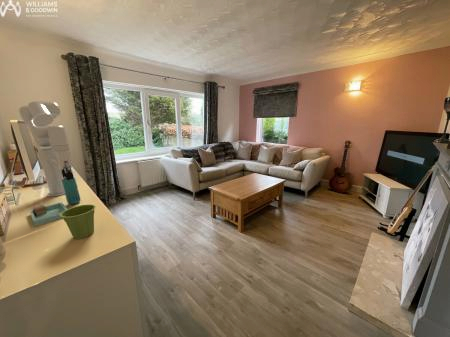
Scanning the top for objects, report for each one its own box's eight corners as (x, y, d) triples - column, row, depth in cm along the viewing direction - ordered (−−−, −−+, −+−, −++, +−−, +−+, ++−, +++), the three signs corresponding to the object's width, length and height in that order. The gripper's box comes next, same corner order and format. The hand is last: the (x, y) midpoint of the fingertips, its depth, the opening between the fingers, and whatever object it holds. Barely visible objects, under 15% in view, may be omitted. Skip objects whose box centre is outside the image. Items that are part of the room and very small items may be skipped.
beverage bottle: (74, 206, 109) (65, 173, 104) (64, 206, 111) (56, 173, 106) (84, 202, 115) (76, 170, 111) (75, 201, 117) (67, 170, 112)
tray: (31, 215, 101) (29, 210, 100) (62, 206, 110) (61, 202, 109) (35, 227, 88) (33, 221, 88) (70, 216, 98) (69, 211, 97)
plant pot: (103, 233, 81) (98, 209, 78) (68, 246, 73) (61, 220, 70) (97, 223, 89) (92, 201, 87) (65, 234, 81) (58, 210, 79)
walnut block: (34, 214, 100) (32, 207, 99) (44, 211, 103) (42, 204, 102) (37, 216, 98) (35, 209, 97) (47, 213, 101) (45, 206, 100)
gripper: (49, 148, 108) (57, 177, 112) (54, 150, 97) (63, 182, 100) (66, 147, 113) (73, 174, 117) (72, 148, 102) (80, 178, 106)
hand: (68, 178), depth 109 cm, fingers open, 9 cm apart
